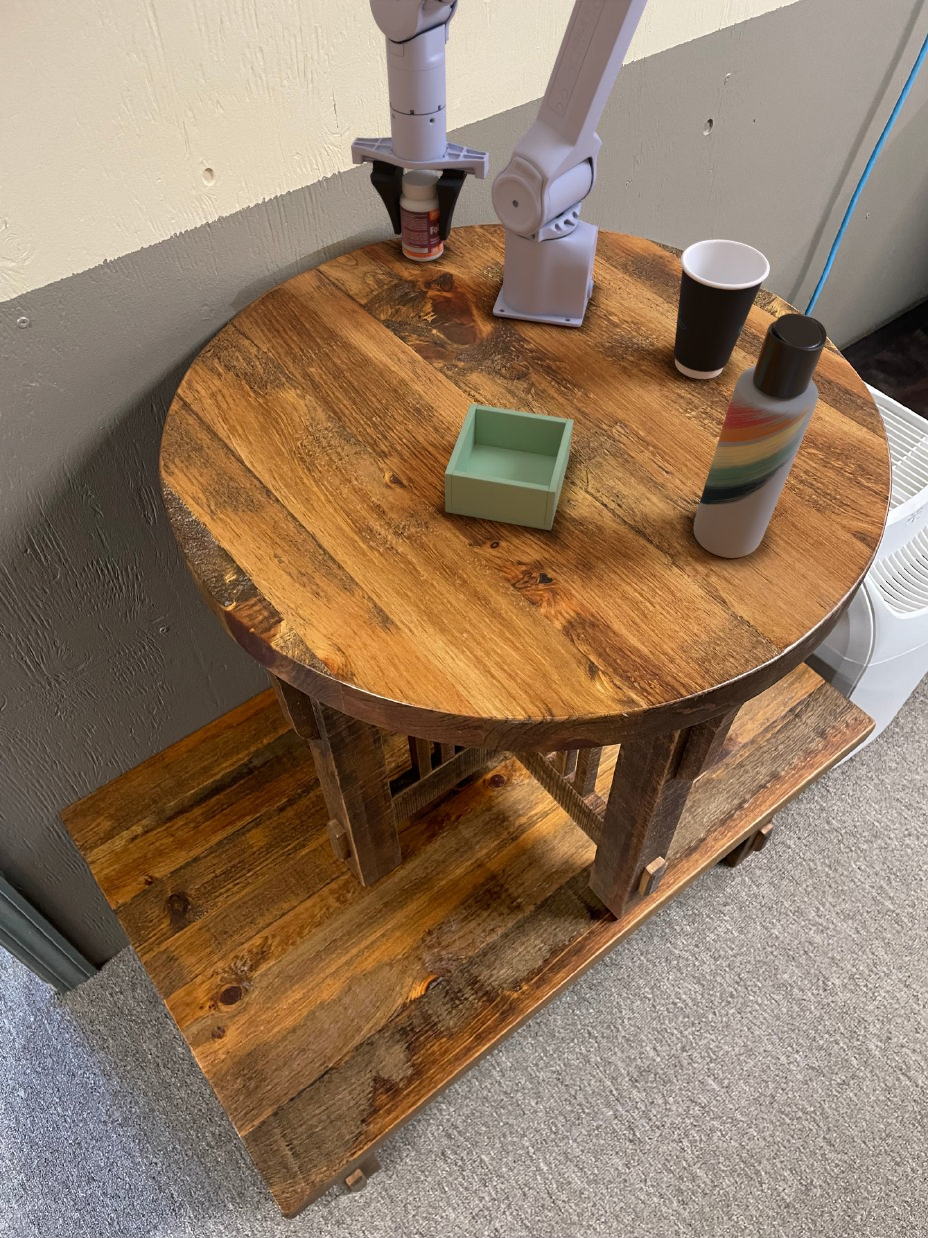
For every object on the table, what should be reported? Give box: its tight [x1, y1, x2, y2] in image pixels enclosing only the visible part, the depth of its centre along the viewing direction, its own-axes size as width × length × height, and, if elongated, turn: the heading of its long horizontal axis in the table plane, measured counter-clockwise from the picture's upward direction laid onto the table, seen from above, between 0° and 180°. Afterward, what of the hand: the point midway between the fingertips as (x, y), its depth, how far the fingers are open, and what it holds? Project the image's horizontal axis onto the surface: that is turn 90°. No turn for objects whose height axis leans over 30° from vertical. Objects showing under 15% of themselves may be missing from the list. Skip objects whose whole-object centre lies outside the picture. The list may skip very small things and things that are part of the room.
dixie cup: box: [673, 239, 771, 380], centre depth 82 cm, size 8×8×11 cm
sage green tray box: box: [444, 403, 575, 531], centre depth 74 cm, size 9×9×4 cm
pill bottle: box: [400, 170, 444, 262], centre depth 96 cm, size 5×5×8 cm
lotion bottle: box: [693, 312, 828, 559], centre depth 65 cm, size 6×6×20 cm
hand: (422, 233), depth 98 cm, fingers closed on pill bottle, 5 cm apart
